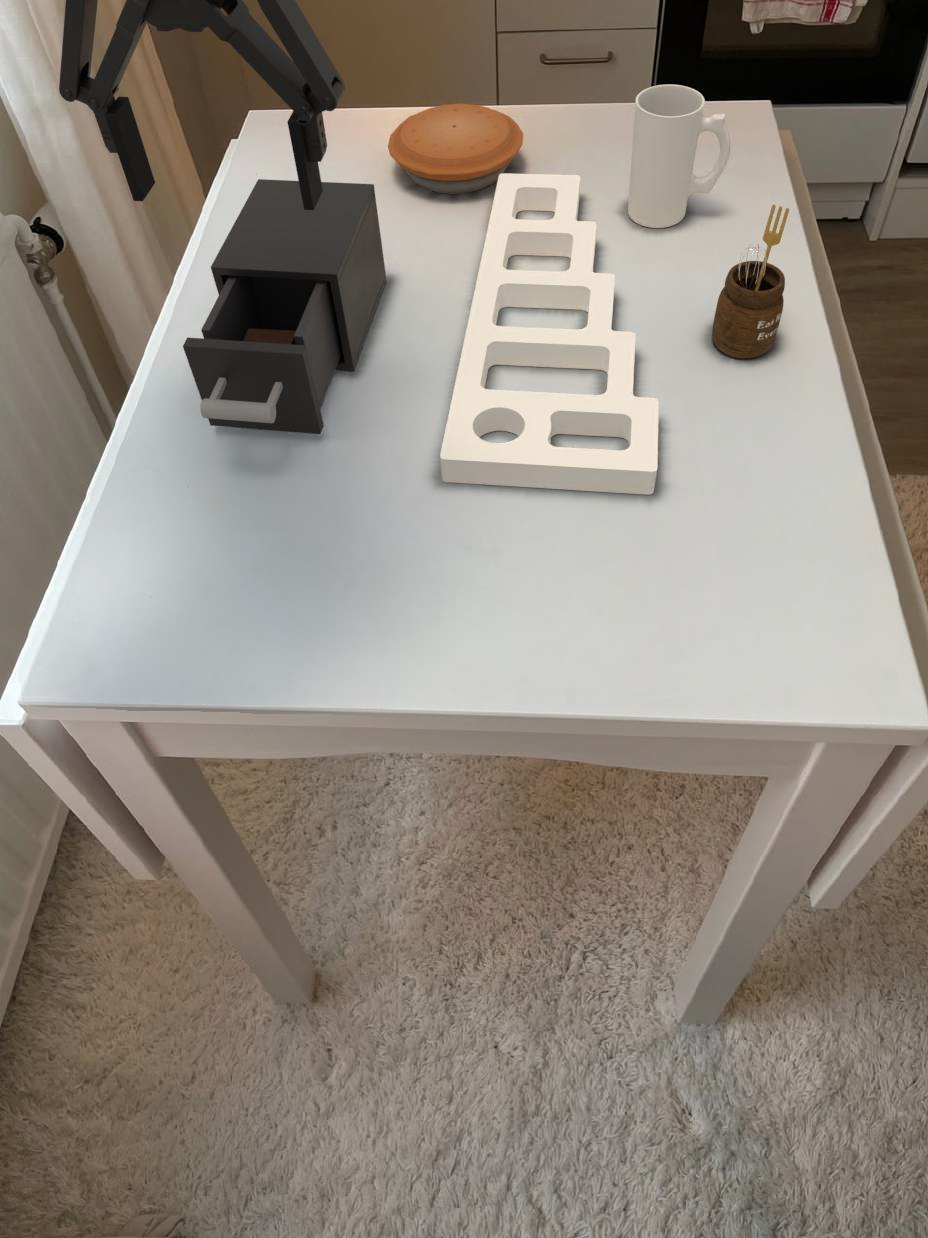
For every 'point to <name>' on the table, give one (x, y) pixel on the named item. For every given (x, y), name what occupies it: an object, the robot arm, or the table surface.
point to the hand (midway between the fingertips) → (228, 196)
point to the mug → (670, 153)
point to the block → (270, 336)
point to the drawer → (267, 355)
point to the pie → (455, 147)
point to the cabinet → (313, 249)
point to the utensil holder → (751, 301)
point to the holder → (546, 358)
